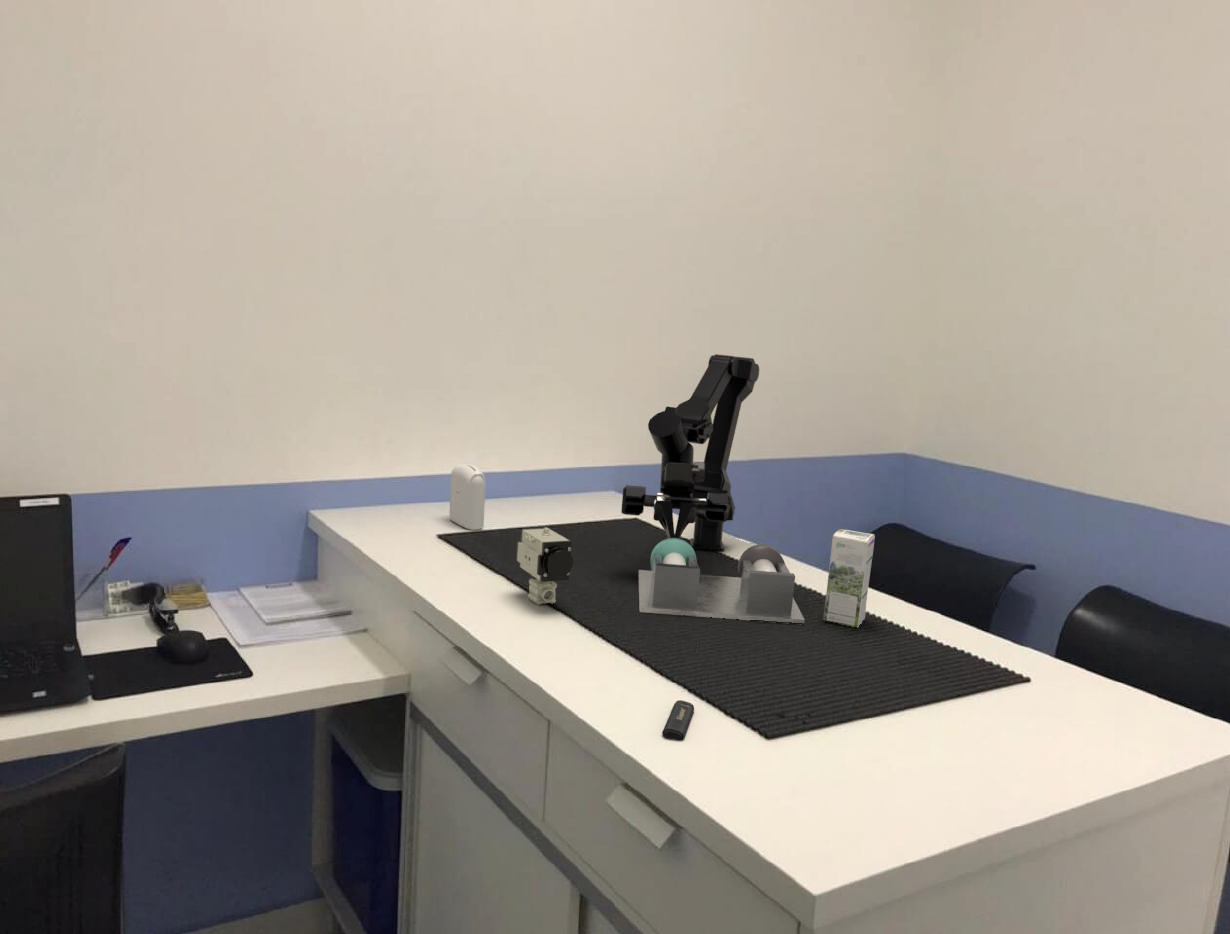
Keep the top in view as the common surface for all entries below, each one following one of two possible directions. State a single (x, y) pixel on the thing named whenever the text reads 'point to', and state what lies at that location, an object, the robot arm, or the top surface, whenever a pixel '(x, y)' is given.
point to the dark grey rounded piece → (761, 558)
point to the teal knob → (673, 551)
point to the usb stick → (678, 720)
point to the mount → (718, 592)
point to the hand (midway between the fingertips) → (673, 545)
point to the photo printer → (467, 496)
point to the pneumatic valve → (544, 561)
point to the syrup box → (848, 577)
